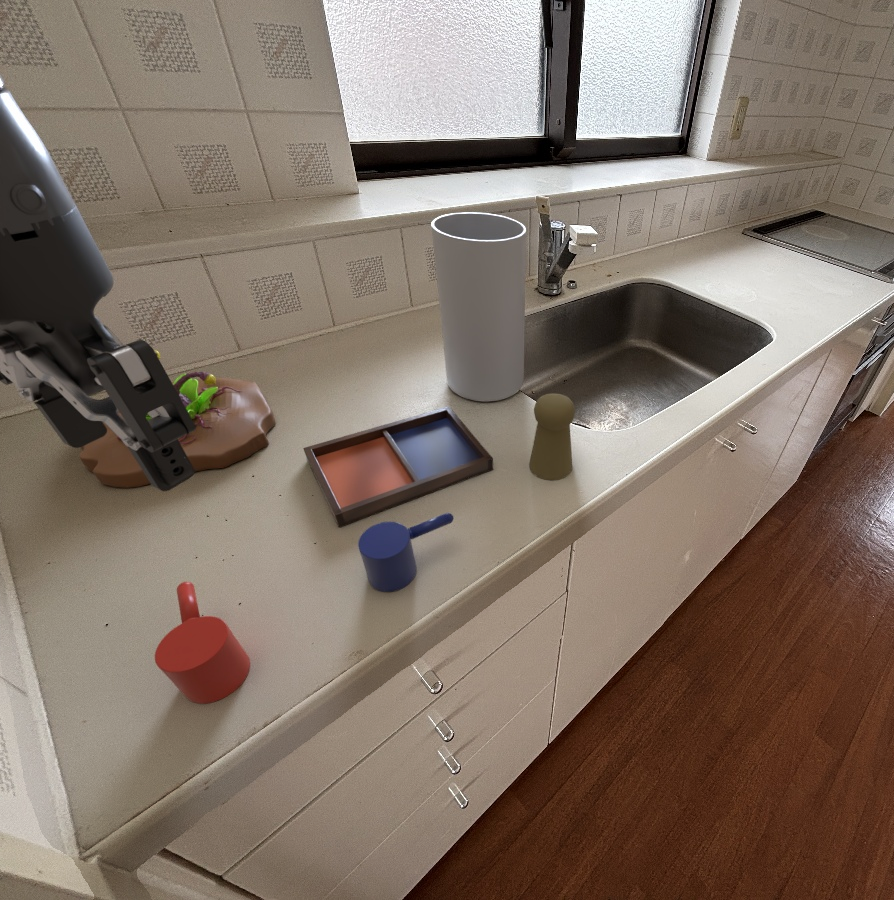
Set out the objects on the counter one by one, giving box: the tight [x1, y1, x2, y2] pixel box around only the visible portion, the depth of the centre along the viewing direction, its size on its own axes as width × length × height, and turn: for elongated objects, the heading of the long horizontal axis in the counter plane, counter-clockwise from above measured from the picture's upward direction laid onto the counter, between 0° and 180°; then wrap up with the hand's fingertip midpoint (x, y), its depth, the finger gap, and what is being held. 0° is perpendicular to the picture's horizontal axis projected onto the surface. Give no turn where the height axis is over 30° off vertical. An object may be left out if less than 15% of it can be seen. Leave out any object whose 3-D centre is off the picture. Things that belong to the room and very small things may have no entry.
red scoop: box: [154, 581, 251, 704], centre depth 43 cm, size 10×5×6 cm, turn 37°
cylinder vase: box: [430, 211, 527, 402], centre depth 75 cm, size 12×12×25 cm
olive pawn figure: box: [528, 392, 576, 481], centre depth 65 cm, size 6×6×11 cm
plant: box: [78, 348, 276, 489], centre depth 62 cm, size 20×20×11 cm
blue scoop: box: [357, 512, 455, 593], centre depth 52 cm, size 10×5×6 cm, turn 127°
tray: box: [303, 406, 494, 528], centre depth 65 cm, size 20×14×2 cm
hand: (131, 460), depth 34 cm, fingers open, 8 cm apart
